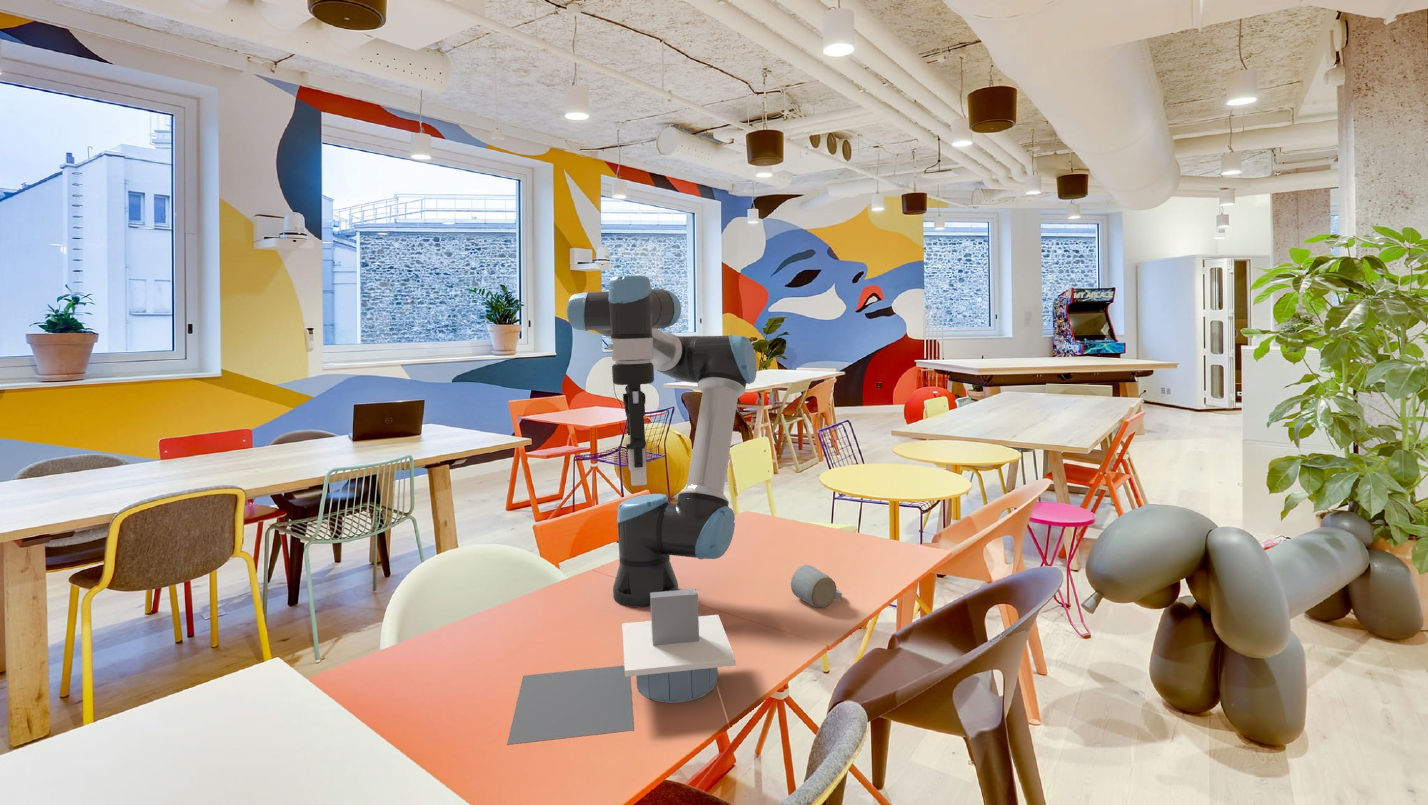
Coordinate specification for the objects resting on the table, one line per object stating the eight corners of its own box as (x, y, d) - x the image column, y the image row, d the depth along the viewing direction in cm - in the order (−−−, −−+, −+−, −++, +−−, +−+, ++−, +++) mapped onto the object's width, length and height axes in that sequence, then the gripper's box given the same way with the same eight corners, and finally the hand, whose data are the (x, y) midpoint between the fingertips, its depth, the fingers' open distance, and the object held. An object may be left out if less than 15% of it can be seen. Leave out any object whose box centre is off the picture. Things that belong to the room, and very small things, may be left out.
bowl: (635, 668, 128) (633, 632, 127) (710, 661, 130) (709, 625, 129) (638, 710, 114) (637, 669, 113) (723, 700, 116) (721, 661, 115)
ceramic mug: (813, 613, 150) (813, 578, 149) (790, 600, 157) (790, 567, 156) (850, 602, 155) (850, 569, 155) (826, 591, 162) (826, 559, 162)
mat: (523, 678, 125) (523, 675, 125) (629, 668, 128) (629, 665, 128) (507, 748, 105) (506, 744, 105) (634, 733, 107) (634, 730, 107)
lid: (622, 628, 129) (620, 579, 128) (718, 619, 131) (717, 571, 130) (625, 676, 111) (622, 619, 110) (735, 665, 114) (734, 609, 113)
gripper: (611, 359, 138) (615, 464, 141) (612, 366, 114) (618, 493, 116) (649, 358, 139) (653, 462, 142) (658, 365, 115) (663, 491, 117)
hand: (637, 476), depth 129 cm, fingers open, 13 cm apart
